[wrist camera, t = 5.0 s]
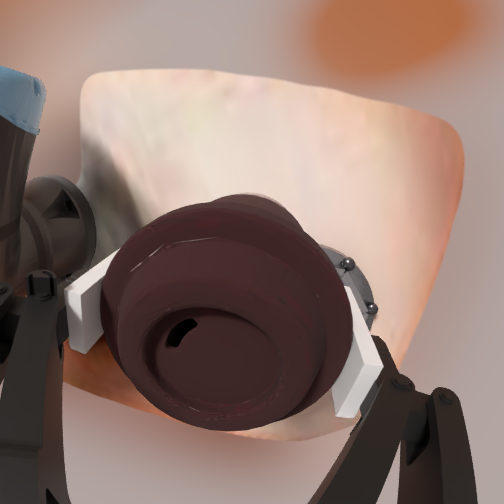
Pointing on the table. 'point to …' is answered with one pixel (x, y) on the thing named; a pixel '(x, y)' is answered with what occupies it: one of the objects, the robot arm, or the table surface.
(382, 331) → the table surface
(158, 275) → the coffee cup
